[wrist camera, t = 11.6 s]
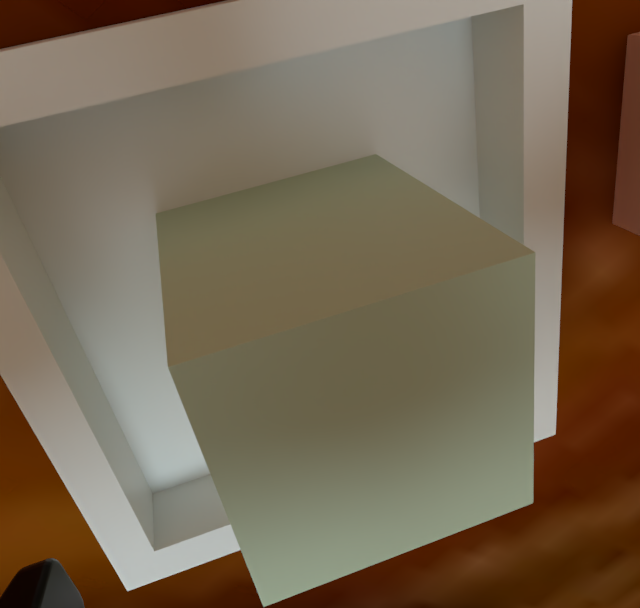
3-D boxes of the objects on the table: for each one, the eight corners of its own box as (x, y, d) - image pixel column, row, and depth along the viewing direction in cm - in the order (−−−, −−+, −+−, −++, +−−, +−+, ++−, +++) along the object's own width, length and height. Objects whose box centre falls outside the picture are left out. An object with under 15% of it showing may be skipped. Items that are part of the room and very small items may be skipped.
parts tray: (506, 383, 18) (555, 434, 16) (128, 514, 16) (127, 590, 14) (497, -58, 12) (575, -73, 10) (-104, 71, 10) (-168, 88, 8)
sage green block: (375, 154, 13) (535, 252, 8) (400, 336, 15) (533, 502, 10) (155, 213, 12) (167, 366, 7) (219, 395, 14) (263, 607, 9)
